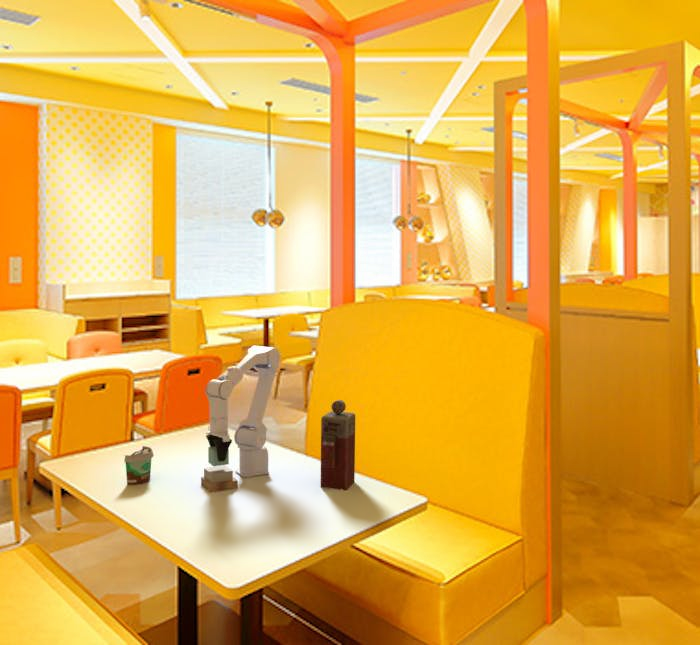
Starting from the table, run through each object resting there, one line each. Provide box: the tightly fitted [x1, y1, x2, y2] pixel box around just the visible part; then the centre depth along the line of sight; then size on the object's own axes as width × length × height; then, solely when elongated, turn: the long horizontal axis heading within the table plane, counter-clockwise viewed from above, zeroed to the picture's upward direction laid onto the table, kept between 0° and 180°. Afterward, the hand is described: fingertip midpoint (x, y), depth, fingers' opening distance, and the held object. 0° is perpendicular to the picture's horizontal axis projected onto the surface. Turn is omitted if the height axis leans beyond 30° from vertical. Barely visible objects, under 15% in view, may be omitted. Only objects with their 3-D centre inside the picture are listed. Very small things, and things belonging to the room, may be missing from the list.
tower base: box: [200, 476, 239, 494], centre depth 219 cm, size 9×9×3 cm
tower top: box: [203, 465, 234, 483], centre depth 219 cm, size 7×7×3 cm
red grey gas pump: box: [320, 399, 356, 491], centre depth 220 cm, size 9×11×28 cm
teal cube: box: [207, 446, 230, 467], centre depth 218 cm, size 5×5×5 cm
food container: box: [123, 445, 155, 486], centre depth 223 cm, size 12×6×10 cm, turn 168°
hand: (218, 458), depth 218 cm, fingers closed on teal cube, 5 cm apart
